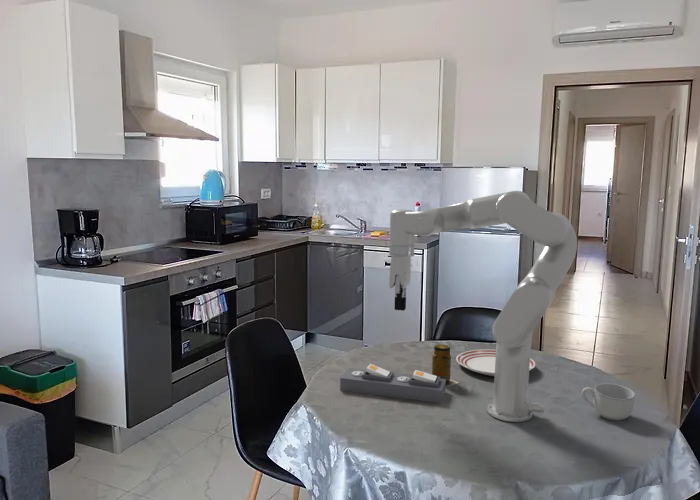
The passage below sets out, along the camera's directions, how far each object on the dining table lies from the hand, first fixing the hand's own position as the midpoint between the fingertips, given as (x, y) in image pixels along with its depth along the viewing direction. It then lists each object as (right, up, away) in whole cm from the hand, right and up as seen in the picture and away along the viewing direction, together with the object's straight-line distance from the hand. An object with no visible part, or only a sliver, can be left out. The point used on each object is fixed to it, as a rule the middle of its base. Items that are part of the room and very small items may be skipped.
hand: (400, 309), depth 178 cm
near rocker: (+8, -21, +3) cm, 23 cm away
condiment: (+15, -26, +15) cm, 33 cm away
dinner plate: (+36, -24, +29) cm, 53 cm away
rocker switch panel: (-2, -26, +6) cm, 27 cm away
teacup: (+59, -30, -10) cm, 67 cm away
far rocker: (-6, -21, +7) cm, 23 cm away
